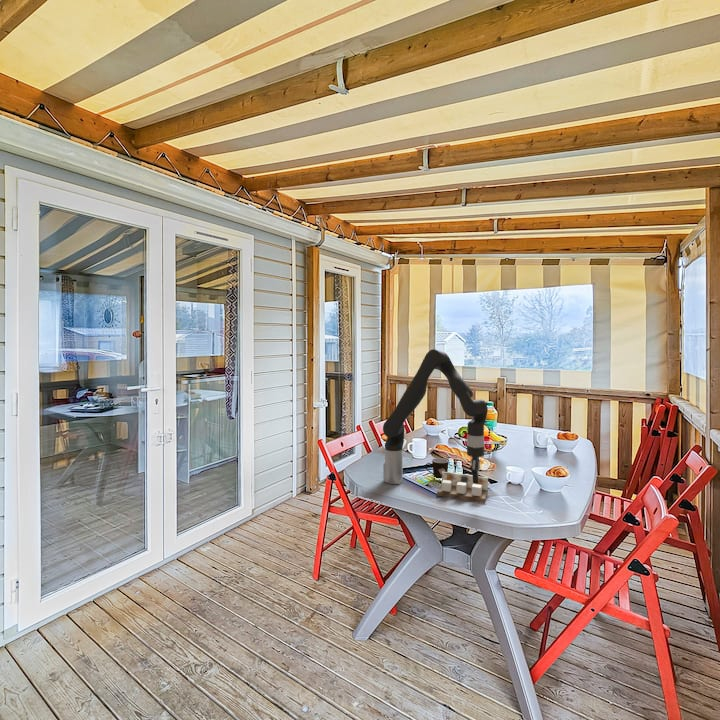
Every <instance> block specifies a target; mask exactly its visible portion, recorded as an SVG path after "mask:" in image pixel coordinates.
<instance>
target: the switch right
mask: <svg viewBox="0 0 720 720" xmlns="http://www.w3.org/2000/svg"><path fill="white" fill-rule="evenodd" d="M481 494H482V485H479V484H473V485H472V495H474V496H481Z"/></svg>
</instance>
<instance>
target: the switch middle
mask: <svg viewBox="0 0 720 720" xmlns="http://www.w3.org/2000/svg"><path fill="white" fill-rule="evenodd" d="M466 490H467V483H464V482H458V483H457V488H456V493H461V494H465V493H466Z"/></svg>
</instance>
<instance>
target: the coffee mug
mask: <svg viewBox="0 0 720 720" xmlns="http://www.w3.org/2000/svg"><path fill="white" fill-rule="evenodd" d="M431 462H432V463H431ZM431 462H427V463H426V464H425V467H424V468H425V470H426V471H427V472H429V473H430V474H432V476H433V478H434V477H436V478H442V471H443V472H448V469H449V460H448V459H447V458H441V457H435V458H432V459H431ZM427 465H430V466H431V467H432V471H430V470H429V469H428V468H427Z"/></svg>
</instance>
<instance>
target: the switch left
mask: <svg viewBox="0 0 720 720" xmlns="http://www.w3.org/2000/svg"><path fill="white" fill-rule="evenodd" d="M441 484H442V491H447V492H450V491H451V489H452V481H449V480H443V481H441Z"/></svg>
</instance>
